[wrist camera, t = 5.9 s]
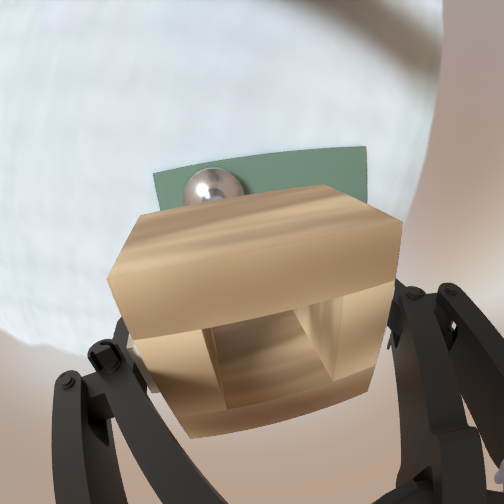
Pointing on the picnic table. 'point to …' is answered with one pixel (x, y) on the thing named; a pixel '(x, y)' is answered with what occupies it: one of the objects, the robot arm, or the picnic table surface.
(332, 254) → the square wooden frame
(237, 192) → the stand
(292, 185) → the mat
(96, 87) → the picnic table surface
